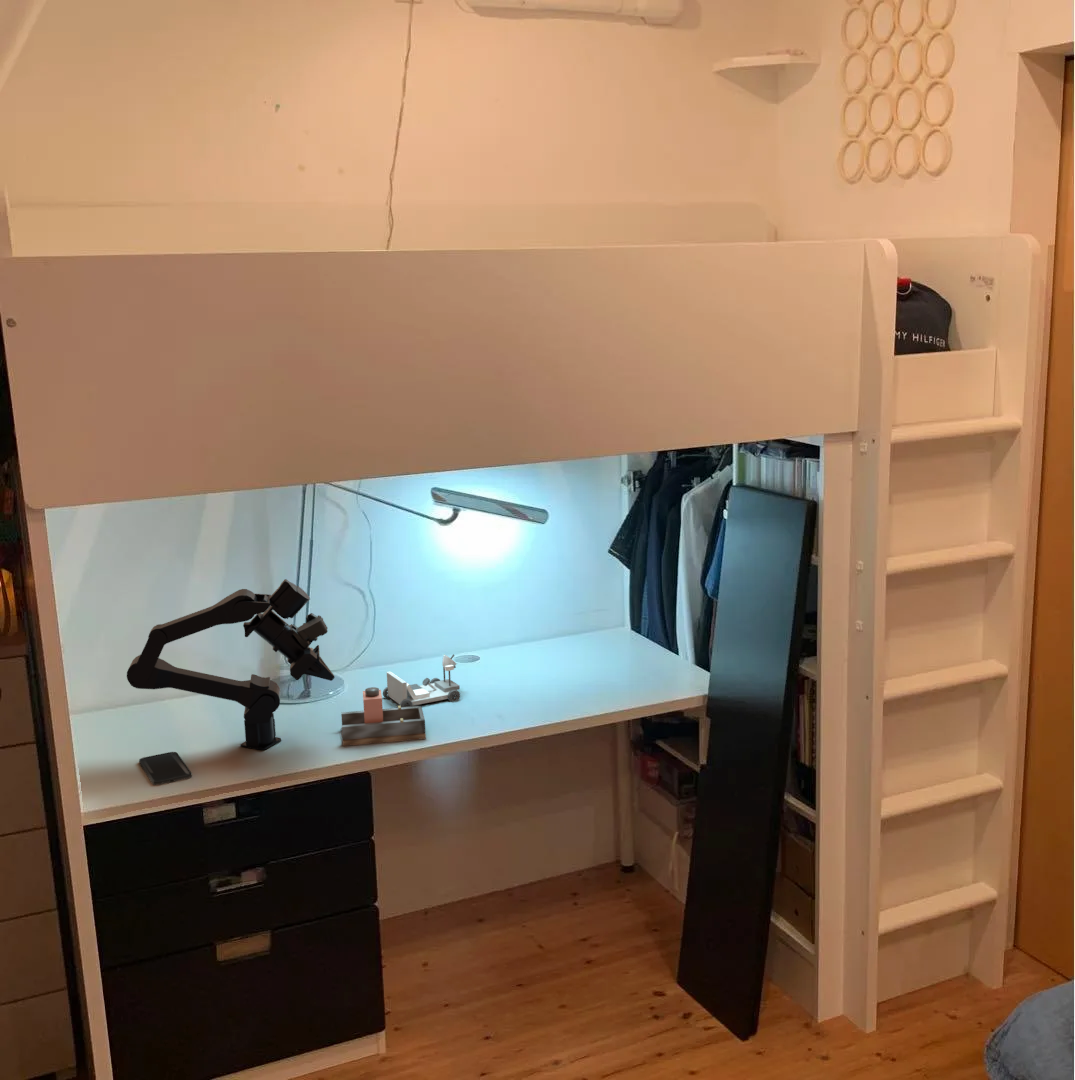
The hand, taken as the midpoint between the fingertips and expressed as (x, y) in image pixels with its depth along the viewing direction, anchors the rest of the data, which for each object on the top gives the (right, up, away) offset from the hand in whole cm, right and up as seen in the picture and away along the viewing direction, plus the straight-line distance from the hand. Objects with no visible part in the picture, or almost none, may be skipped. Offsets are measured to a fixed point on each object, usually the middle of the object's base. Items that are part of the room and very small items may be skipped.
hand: (333, 678), depth 252 cm
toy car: (+18, -8, +28) cm, 34 cm away
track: (+10, -13, +4) cm, 17 cm away
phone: (-33, -18, -13) cm, 39 cm away
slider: (+8, -12, +4) cm, 15 cm away
